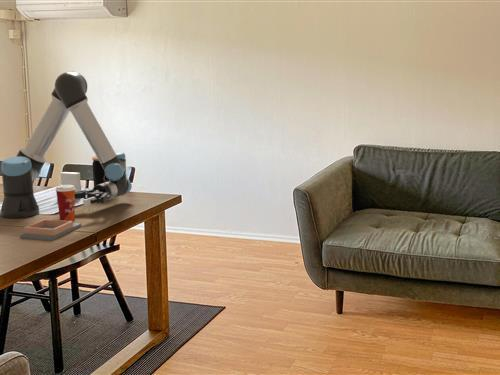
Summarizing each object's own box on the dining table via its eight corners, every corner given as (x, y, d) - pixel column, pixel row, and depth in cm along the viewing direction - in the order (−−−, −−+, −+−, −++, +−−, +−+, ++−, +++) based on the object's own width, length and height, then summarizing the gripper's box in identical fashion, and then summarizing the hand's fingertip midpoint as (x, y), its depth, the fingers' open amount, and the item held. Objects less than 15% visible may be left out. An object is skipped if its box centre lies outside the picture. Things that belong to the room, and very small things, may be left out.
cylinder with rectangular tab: (57, 199, 285) (56, 174, 283) (68, 195, 294) (67, 170, 291) (74, 200, 283) (73, 175, 280) (85, 196, 291) (83, 171, 289)
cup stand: (20, 237, 223) (19, 228, 222) (52, 224, 242) (51, 215, 241) (51, 240, 219) (50, 231, 219) (81, 226, 238) (80, 217, 238)
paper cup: (71, 223, 243) (69, 188, 240) (53, 222, 245) (51, 187, 242) (80, 218, 251) (78, 184, 248) (63, 217, 252) (61, 184, 249)
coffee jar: (105, 197, 289) (103, 159, 286) (89, 194, 295) (87, 157, 291) (121, 193, 298) (119, 156, 295) (105, 190, 304) (103, 154, 300)
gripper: (128, 202, 262) (96, 213, 243) (82, 197, 272) (47, 207, 253) (127, 185, 260) (95, 195, 241) (81, 181, 271) (46, 190, 252)
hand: (70, 201), depth 247 cm, fingers open, 13 cm apart
